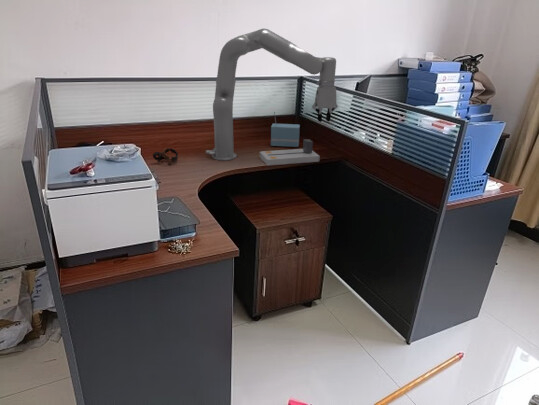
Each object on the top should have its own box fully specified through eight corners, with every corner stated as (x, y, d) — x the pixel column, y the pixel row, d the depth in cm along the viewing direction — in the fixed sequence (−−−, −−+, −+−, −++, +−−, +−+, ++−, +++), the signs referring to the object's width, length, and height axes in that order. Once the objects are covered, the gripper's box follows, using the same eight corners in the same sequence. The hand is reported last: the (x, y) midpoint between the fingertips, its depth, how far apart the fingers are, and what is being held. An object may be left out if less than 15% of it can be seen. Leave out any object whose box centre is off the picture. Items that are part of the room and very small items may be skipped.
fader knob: (306, 153, 201) (306, 141, 199) (302, 150, 205) (303, 139, 203) (312, 152, 202) (312, 141, 199) (308, 150, 206) (309, 139, 204)
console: (266, 165, 193) (267, 159, 191) (259, 157, 205) (259, 151, 204) (319, 161, 200) (319, 155, 199) (309, 153, 212) (309, 148, 211)
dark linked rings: (173, 159, 201) (177, 147, 196) (176, 172, 195) (181, 160, 190) (149, 156, 194) (153, 144, 189) (152, 169, 189) (156, 157, 184)
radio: (298, 144, 229) (300, 109, 221) (298, 148, 221) (300, 113, 213) (272, 142, 231) (272, 108, 222) (270, 147, 222) (271, 112, 214)
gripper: (313, 85, 186) (311, 123, 194) (345, 84, 191) (341, 122, 198) (308, 83, 193) (305, 120, 200) (338, 82, 197) (335, 118, 205)
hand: (323, 120), depth 199 cm, fingers open, 3 cm apart
